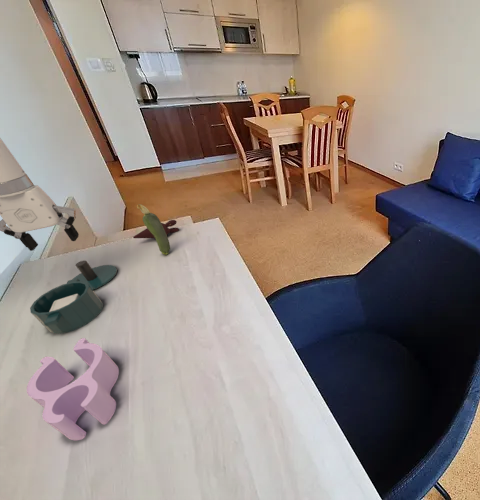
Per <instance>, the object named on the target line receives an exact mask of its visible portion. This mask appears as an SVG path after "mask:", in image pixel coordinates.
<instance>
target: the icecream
mask: <svg viewBox="0 0 480 500" xmlns="http://www.w3.org/2000/svg"><path fill="white" fill-rule="evenodd" d="M177 222H178V221H177V220H175V219H169V220H168V221H167V222H165V223H163V222H161V224H162V226H163V228H164V230H165V232H166V235H167V236H168V234H174V233H177V232H179V231H180V228H179V227H173V226H176V225H177ZM133 239H155V237H154V235H153V234H152V233H151V232H150V231H149V229H148V228H147V227H146V228H144V229H143V230H142V231H140V232H139V233H137V234H135V235H134V236H133Z"/></svg>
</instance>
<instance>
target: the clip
mask: <svg viewBox="0 0 480 500" xmlns="http://www.w3.org/2000/svg"><path fill="white" fill-rule="evenodd" d="M72 350H73V351H74V352H75V354H77V356H78V357H80V359H81V360H82V361H83V362H85V363H86V365H88V369H86V370H85V372H84V373H83V374H81V375H80V376H79V377H78V378H76V379H75V376H74V375H73V374H72V373H71V372H69V370H68V369H66V368H65V366H63V365H62V364H61V363H60V362H59V361H58V360H57V359H56V358H55V357H53V356H44V357H42V358H41V359H40V360H39V363H41V366H40V367H38V369H37V370H36V371H35V372H34V373H33V375H32V376H31V377H30V378H29V380H28V382H27V385H26V393H27V395H28V397H29V398H31V399H32V400H33V401H35V402H36V403H37V404H39V405H40V406H41V407H42V408H43V410H42V414H41V415H42V416H41V417H42V419H43V421H44V422H46V423H47V424H48V425H49V426H51V427H53V428H54V429H55V430H57V431H58V432H60V433H61V434H62V435H63V436H64V437H66V438H67V439H69V440H71V441H81V440H83V439H84V438H86V436H87V431H86V430H84V429H83V428H82V427H80V426H79V425H78V424H77V421H78V419H79V418H80V416H81V415H82V414H84V413H85V412H87V413H89V414H90V415H91V416H92V417H93V418H94V419H96V420H97V421H98V422H99V423H100V424H102V425H103V426H104V425H107V424H108V423H109V422H110V420H111V419H112V418H113V416H114V414H115V412H116V409H117V401H116V399H115V398H114V397H113V396H111V391H112V389H113V387H114V386H115V384H116V383H117V381H118V378H119V374H120V370H119V369H120V368H119V366H118V365H117V364H116V363H115V362H114V361H113V359H112V358H111V357H110V356H109V354H107V353H106V351H105V350H104V349H103V348H102V346H100V345H99V344H97V343H93V342H90V341H88V339H86V337H82V338H80V339H78V341H76V343H75V345H74V346H73V349H72ZM74 379H75V380H74Z"/></svg>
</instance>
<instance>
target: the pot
mask: <svg viewBox="0 0 480 500" xmlns="http://www.w3.org/2000/svg"><path fill="white" fill-rule="evenodd" d="M74 294H79V296H80V297H79V298H78V299H76V300H75V301H73V302H72V303H70V304H69V305H66V306H64V307H62V308H60V309H57V310H54V311H50V309H51V307H52V305H53V303H54V301H56V300H59V299H62V298H65V297H68V296H71V295H74ZM103 307H104V303H103V301H102V300H101V298H100V297H99V296H98V294H97V293H96V292H95V290H93V289H92V288H91V287H90V285H89V284H88V283H87V282H83V281H80V280H79V279H78V278H76V279H73V278H72V279H69V280H67V282H66V283H63V284H61V285H59V286H55V287H53V288H52V289H50V290H48V291H47V292H45V293H43V294H41V295H40V296H39V297H38V298H37V299H35V300H34V302H33V303H32V304H31V306H30V307H29V310H30V314H31V315H32V316H33V317H34V318H35V319H36V320H37V321H38V322H39V323H40V324H41V325H42V326H43V327H44V328H45V329H46V330H47V331H48V332H50V333H51V334H55V335H60V334H67V333H71V332H74V331H76V330H78V329H80V328H82V327H85V326H86V325H88V324H89V323H91V322H92V321H93V320H95V318H97V317H98V316H99V315H100V314H101V312H102V311H103ZM49 311H50V312H49Z"/></svg>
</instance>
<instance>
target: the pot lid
mask: <svg viewBox="0 0 480 500" xmlns="http://www.w3.org/2000/svg"><path fill="white" fill-rule="evenodd" d="M75 266H76V268H77V269H78V271H79V272H80V273H79V274H77V275H75V276H74V277H73V278H72V279H76V278H78V279H79V280H80V281H83V282H87V283H88V284H89V285H90V287H91V288H92V289H93V291H95V290H97V289H99V288H101V287H102V286H105V285H106V284H107V283H109V282H110V281H111V280H112V279H114V278H115V276H116V275H117V274H118V268H117V267H116V266H115V265H111V264H103V265H98V266H94V267H92V266H91V265H90V264H89V263H88V261H87V260H85V259H84V260H80V261H78V262H77V263H75Z"/></svg>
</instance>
